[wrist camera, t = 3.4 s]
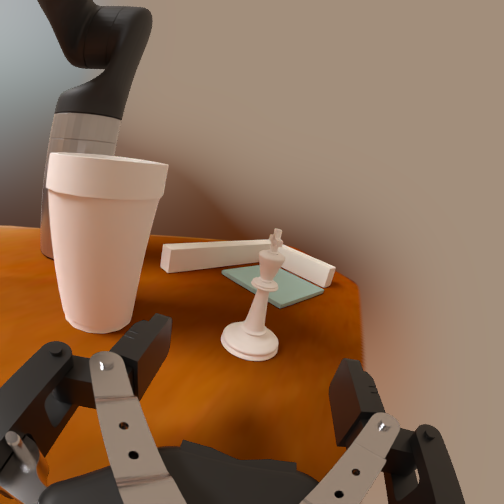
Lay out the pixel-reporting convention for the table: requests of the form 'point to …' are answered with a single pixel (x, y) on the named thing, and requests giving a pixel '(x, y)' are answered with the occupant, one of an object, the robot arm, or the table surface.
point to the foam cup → (101, 233)
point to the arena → (252, 267)
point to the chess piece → (257, 311)
